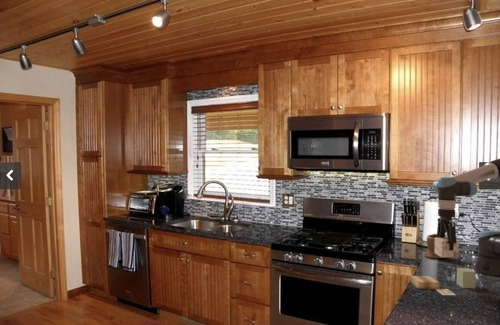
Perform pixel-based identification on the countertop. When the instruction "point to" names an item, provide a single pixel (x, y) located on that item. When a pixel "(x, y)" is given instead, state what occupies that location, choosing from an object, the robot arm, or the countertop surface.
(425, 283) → the base
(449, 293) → the page
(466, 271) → the sage brick
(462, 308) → the countertop surface
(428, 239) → the brown rounded piece
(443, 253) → the birch brick
